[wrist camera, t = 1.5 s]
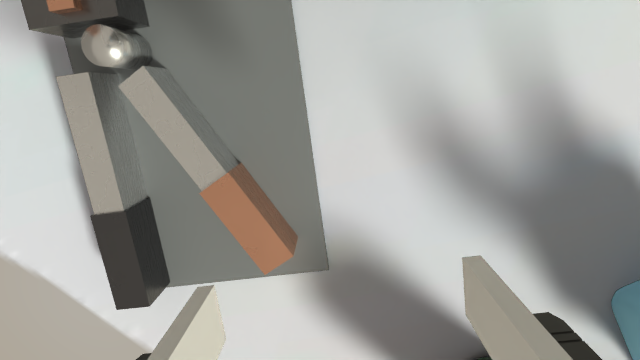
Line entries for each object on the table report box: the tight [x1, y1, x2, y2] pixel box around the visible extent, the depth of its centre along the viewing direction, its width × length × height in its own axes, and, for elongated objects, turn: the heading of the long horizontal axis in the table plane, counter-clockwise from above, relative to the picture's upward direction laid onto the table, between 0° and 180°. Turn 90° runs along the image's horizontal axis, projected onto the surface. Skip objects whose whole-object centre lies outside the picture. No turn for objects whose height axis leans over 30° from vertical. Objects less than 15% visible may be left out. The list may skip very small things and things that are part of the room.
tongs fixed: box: [21, 0, 170, 310], centre depth 31 cm, size 26×7×6 cm, turn 8°
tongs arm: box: [81, 24, 298, 275], centre depth 31 cm, size 22×3×5 cm, turn 36°
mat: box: [64, 0, 329, 287], centre depth 33 cm, size 28×19×1 cm
